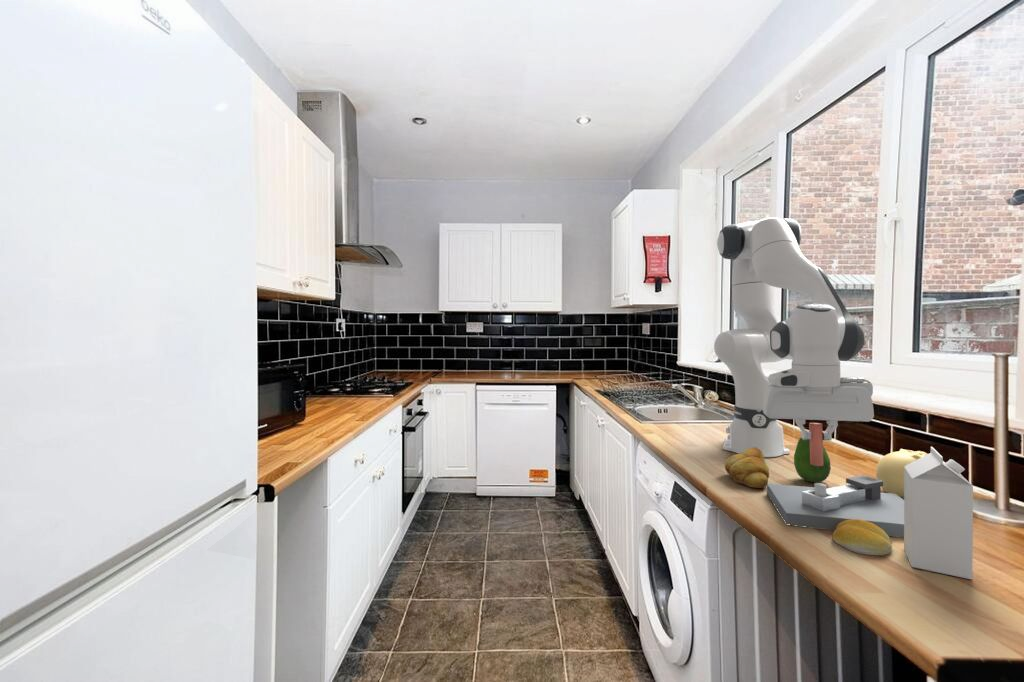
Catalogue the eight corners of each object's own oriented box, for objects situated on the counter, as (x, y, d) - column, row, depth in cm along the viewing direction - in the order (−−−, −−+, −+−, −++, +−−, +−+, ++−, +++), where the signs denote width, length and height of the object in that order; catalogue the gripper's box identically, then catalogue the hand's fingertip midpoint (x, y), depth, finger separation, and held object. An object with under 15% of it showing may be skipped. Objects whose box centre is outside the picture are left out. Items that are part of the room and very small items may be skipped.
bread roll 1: (776, 492, 105) (776, 459, 105) (732, 489, 108) (732, 457, 108) (761, 474, 118) (761, 445, 117) (722, 472, 120) (721, 443, 120)
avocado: (790, 475, 116) (790, 430, 116) (825, 478, 114) (825, 432, 113) (798, 485, 109) (798, 438, 109) (836, 489, 106) (835, 440, 106)
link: (823, 511, 88) (823, 499, 88) (801, 503, 93) (801, 491, 92) (869, 501, 92) (869, 490, 92) (846, 494, 97) (846, 482, 97)
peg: (808, 462, 98) (807, 422, 98) (821, 463, 97) (820, 423, 97) (811, 465, 96) (810, 424, 96) (824, 466, 95) (823, 425, 95)
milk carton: (911, 568, 72) (912, 454, 72) (903, 549, 78) (903, 443, 77) (972, 581, 68) (973, 460, 68) (959, 560, 74) (960, 449, 73)
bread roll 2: (829, 547, 80) (829, 525, 80) (839, 530, 86) (838, 510, 86) (889, 563, 74) (889, 540, 74) (894, 544, 80) (894, 522, 80)
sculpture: (961, 508, 94) (961, 458, 94) (896, 505, 96) (896, 456, 96) (922, 488, 105) (922, 444, 105) (865, 486, 108) (865, 442, 107)
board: (767, 493, 104) (766, 464, 104) (895, 504, 96) (895, 473, 96) (786, 525, 88) (786, 490, 88) (942, 541, 80) (942, 503, 80)
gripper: (865, 376, 96) (866, 438, 96) (760, 375, 103) (761, 434, 103) (879, 379, 90) (880, 446, 90) (767, 378, 97) (768, 440, 97)
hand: (816, 439), depth 97 cm, fingers closed on peg, 2 cm apart
